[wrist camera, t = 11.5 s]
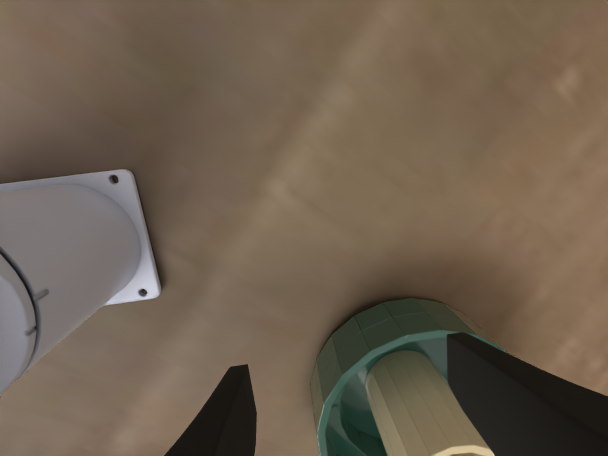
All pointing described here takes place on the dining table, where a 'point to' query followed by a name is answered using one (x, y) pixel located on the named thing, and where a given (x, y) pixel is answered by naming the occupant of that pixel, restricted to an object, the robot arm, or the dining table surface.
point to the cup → (419, 409)
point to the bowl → (360, 359)
